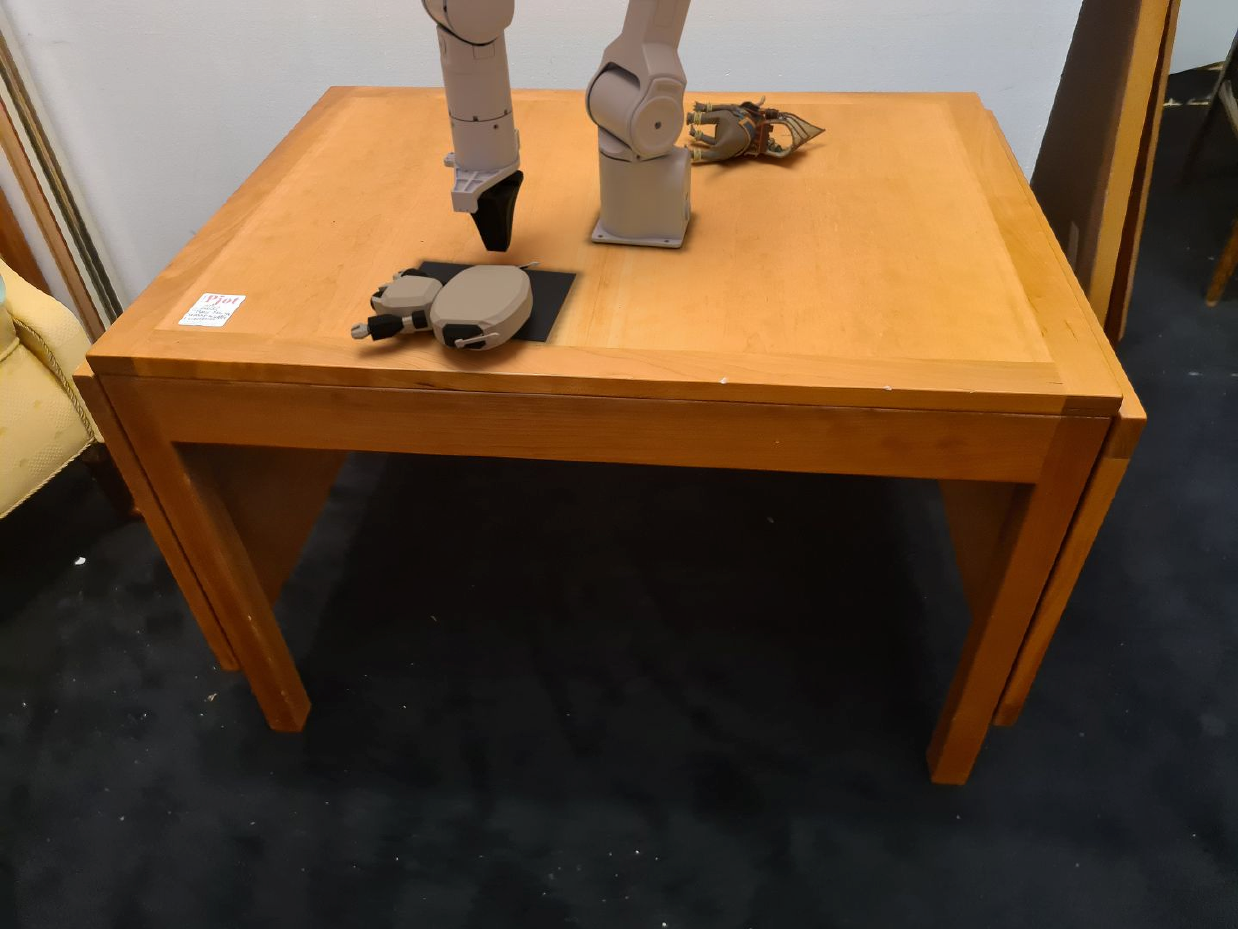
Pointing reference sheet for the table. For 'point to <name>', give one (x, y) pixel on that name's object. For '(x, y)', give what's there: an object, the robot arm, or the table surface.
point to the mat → (545, 292)
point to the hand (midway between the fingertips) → (498, 248)
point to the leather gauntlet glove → (745, 130)
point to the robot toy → (453, 306)
